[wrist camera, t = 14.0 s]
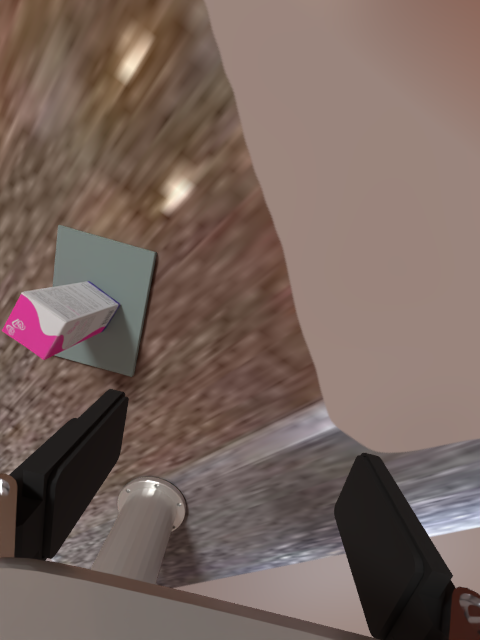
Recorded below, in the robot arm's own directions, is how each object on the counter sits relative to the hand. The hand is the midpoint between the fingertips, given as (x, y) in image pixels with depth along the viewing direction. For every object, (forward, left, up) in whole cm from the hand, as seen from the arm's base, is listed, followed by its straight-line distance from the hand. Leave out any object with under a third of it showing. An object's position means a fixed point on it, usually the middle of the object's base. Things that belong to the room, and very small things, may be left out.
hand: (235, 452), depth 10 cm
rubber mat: (-6, +22, -30) cm, 37 cm away
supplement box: (-6, +22, -29) cm, 37 cm away
